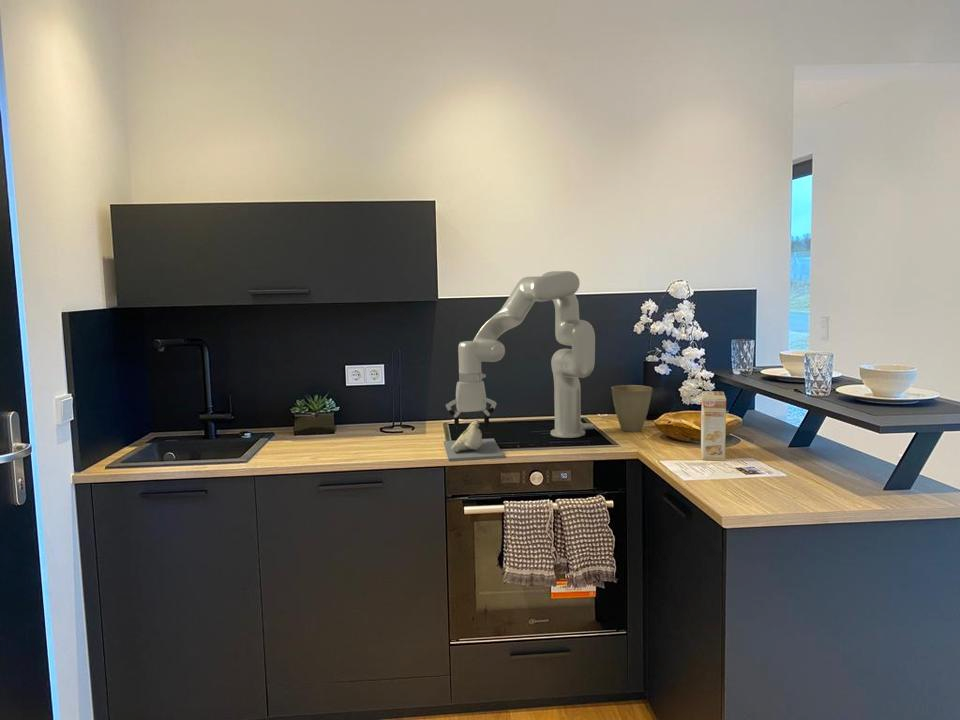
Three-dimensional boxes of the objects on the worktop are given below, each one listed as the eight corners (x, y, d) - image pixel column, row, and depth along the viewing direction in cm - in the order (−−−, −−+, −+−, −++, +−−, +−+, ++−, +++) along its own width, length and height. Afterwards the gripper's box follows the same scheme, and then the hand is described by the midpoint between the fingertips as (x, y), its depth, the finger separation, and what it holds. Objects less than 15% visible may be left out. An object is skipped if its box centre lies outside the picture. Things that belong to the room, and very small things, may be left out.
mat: (493, 440, 249) (493, 438, 249) (504, 457, 225) (504, 455, 225) (443, 443, 247) (443, 441, 246) (448, 461, 223) (448, 458, 223)
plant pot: (657, 433, 253) (657, 390, 251) (617, 435, 252) (617, 391, 250) (645, 424, 268) (645, 383, 266) (607, 426, 267) (606, 385, 265)
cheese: (470, 462, 225) (499, 429, 230) (454, 447, 224) (483, 413, 229) (458, 465, 239) (486, 433, 244) (443, 450, 239) (471, 419, 244)
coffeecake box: (726, 461, 214) (727, 399, 211) (701, 460, 216) (702, 398, 213) (723, 449, 228) (724, 390, 226) (700, 448, 230) (701, 390, 228)
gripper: (494, 375, 237) (495, 424, 240) (443, 377, 235) (445, 426, 238) (497, 378, 230) (498, 428, 232) (445, 380, 228) (447, 431, 230)
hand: (471, 427), depth 235 cm, fingers open, 9 cm apart
